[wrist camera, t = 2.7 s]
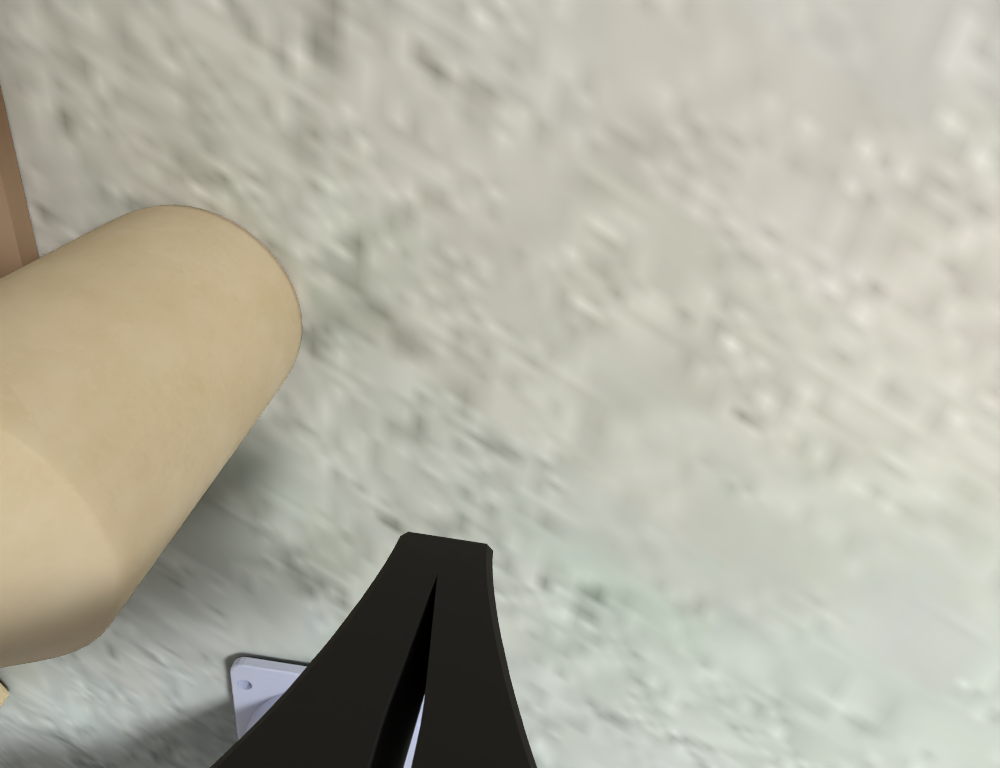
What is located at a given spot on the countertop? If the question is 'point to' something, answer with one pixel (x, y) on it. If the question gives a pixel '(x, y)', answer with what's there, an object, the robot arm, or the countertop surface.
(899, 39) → the countertop surface
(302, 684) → the robot arm
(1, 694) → the coffeecake box
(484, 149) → the countertop surface
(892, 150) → the countertop surface
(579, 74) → the countertop surface
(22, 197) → the walnut board
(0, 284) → the candle
